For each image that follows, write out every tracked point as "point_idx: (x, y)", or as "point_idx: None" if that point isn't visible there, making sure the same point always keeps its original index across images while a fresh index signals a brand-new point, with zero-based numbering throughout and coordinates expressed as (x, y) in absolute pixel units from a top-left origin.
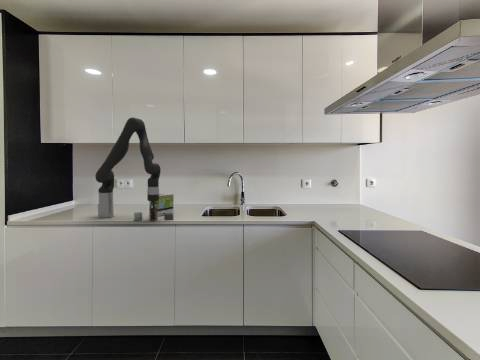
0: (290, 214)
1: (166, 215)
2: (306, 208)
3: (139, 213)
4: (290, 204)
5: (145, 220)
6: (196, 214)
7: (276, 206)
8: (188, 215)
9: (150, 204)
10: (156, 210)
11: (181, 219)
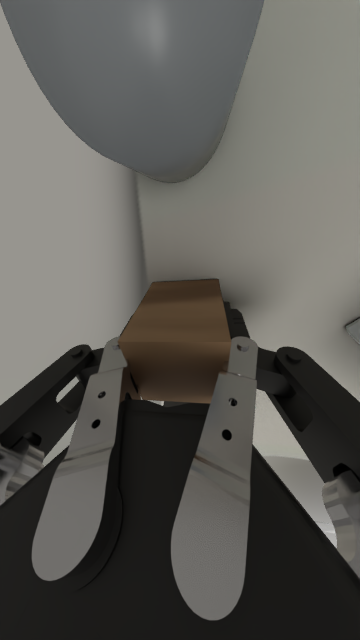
0: None
1: (165, 406)
2: None
3: (57, 108)
4: (330, 529)
5: (161, 235)
6: (295, 453)
7: (320, 522)
8: (284, 438)
9: (48, 527)
10: (208, 398)
11: None
